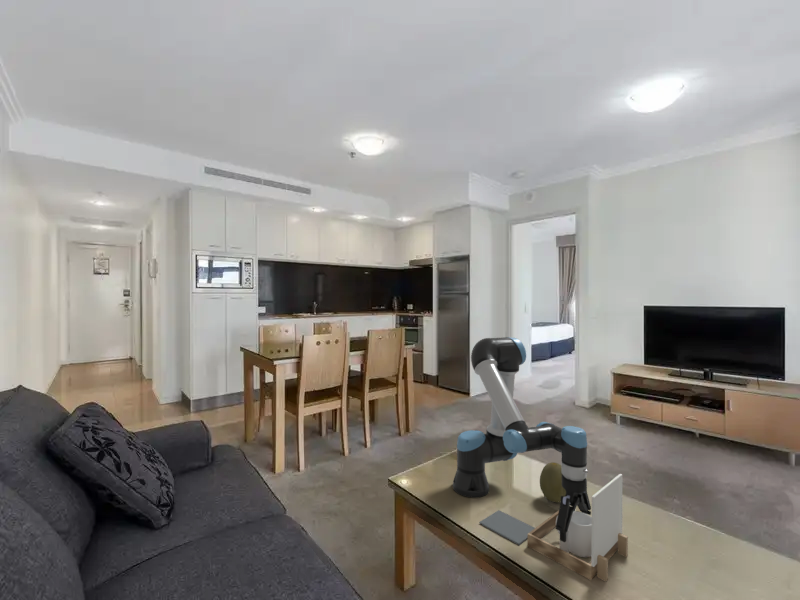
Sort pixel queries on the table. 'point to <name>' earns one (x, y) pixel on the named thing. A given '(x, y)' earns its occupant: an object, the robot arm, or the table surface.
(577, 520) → the cup
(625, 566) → the table surface
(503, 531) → the mat
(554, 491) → the fruit
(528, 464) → the table surface
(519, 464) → the table surface
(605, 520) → the lid
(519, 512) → the table surface
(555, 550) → the frame
